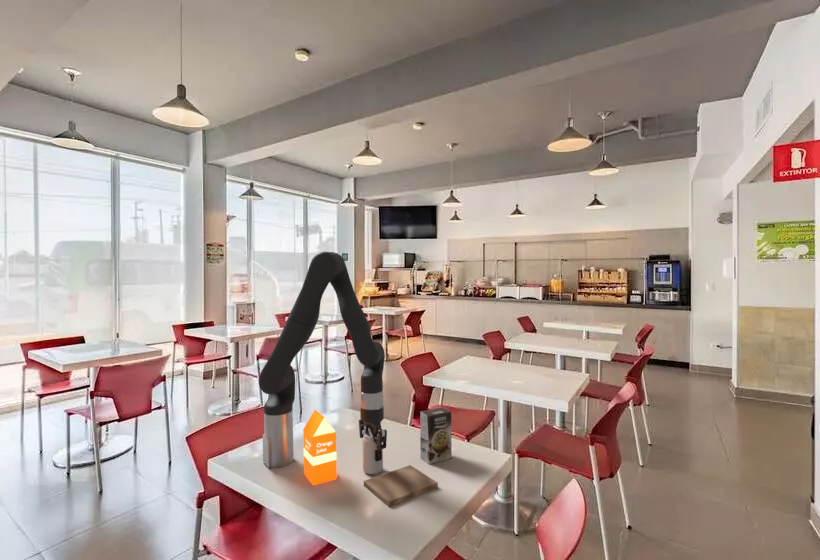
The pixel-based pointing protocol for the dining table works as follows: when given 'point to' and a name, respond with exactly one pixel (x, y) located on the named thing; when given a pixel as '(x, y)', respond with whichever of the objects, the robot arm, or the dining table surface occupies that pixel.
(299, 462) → the dining table surface
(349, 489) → the dining table surface
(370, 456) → the beverage can
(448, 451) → the coffee box
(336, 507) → the dining table surface
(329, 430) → the orange juice
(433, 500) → the dining table surface
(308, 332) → the robot arm
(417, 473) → the walnut board
